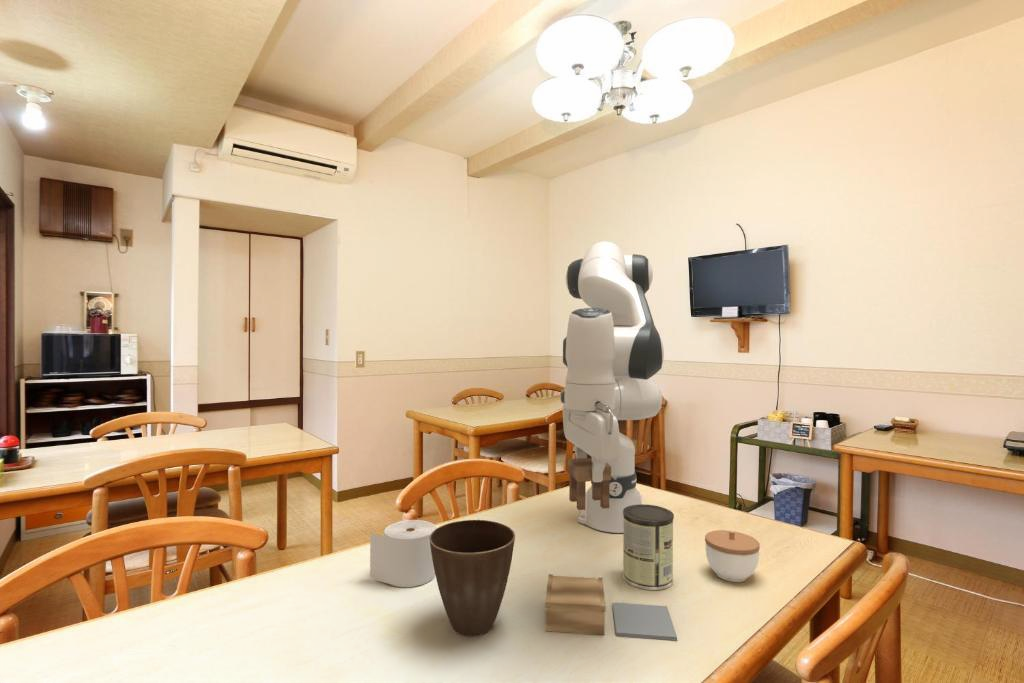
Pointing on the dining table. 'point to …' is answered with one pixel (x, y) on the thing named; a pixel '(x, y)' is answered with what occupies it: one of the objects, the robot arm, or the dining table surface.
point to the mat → (643, 621)
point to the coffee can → (648, 547)
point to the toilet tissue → (402, 554)
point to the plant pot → (472, 571)
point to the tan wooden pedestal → (575, 605)
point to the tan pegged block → (577, 483)
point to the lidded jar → (732, 554)
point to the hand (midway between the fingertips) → (589, 475)
